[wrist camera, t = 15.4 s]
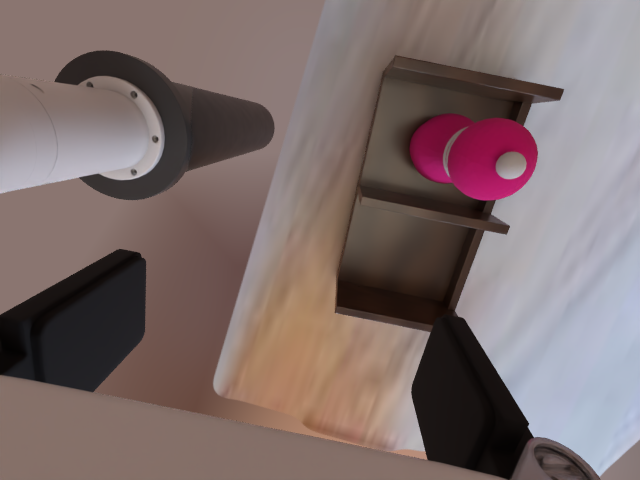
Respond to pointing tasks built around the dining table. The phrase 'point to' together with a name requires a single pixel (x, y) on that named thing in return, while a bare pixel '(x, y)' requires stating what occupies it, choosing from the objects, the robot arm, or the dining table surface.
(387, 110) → the shelf
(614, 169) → the dining table surface
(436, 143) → the pepper mill
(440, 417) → the robot arm
